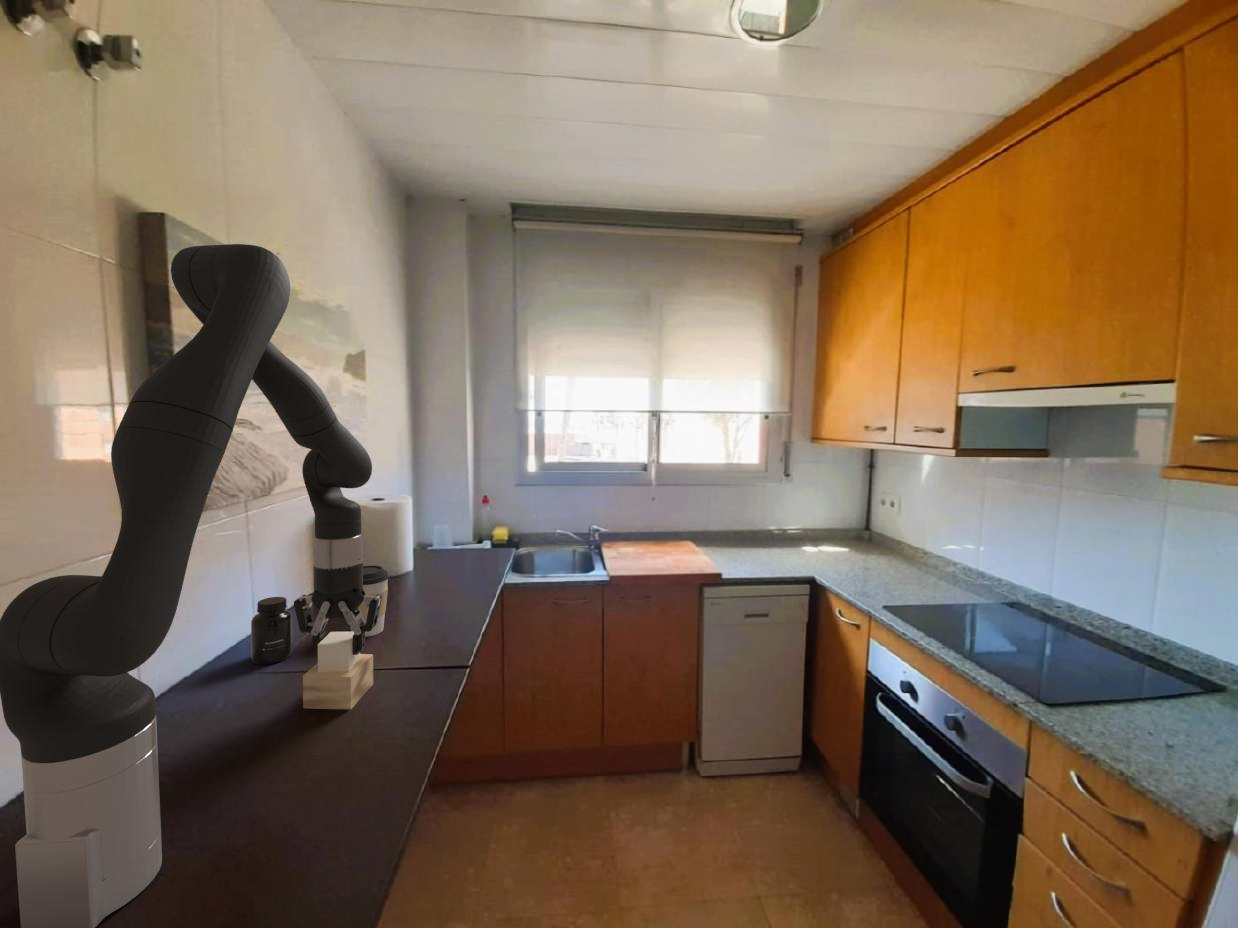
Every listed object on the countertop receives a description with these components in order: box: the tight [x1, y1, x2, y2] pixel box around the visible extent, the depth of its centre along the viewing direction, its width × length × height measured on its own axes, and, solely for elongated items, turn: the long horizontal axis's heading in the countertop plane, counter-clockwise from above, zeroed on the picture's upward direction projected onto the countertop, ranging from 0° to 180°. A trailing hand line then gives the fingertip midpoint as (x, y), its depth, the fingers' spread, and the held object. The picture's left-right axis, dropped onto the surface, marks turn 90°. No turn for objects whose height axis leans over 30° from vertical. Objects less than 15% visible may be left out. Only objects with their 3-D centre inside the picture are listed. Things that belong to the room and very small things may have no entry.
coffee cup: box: [350, 564, 390, 638], centre depth 111 cm, size 9×9×15 cm
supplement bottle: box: [250, 596, 293, 666], centre depth 98 cm, size 7×7×12 cm
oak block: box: [302, 653, 374, 710], centre depth 86 cm, size 8×8×6 cm
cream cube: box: [317, 631, 361, 672], centre depth 85 cm, size 5×5×5 cm
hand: (339, 652), depth 85 cm, fingers open, 5 cm apart
